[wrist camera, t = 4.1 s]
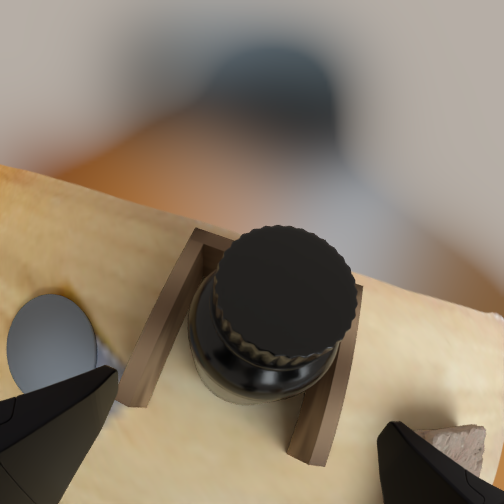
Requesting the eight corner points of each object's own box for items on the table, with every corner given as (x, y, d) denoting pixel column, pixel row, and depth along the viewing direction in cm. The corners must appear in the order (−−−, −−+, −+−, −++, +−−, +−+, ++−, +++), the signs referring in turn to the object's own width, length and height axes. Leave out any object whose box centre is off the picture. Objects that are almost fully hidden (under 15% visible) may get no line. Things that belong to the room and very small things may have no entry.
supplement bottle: (307, 377, 18) (416, 328, 8) (221, 420, 16) (242, 443, 6) (263, 299, 21) (316, 186, 11) (180, 333, 19) (149, 234, 9)
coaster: (33, 421, 12) (29, 421, 12) (1, 324, 15) (-3, 322, 15) (117, 377, 16) (115, 376, 15) (73, 279, 19) (70, 276, 19)
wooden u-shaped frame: (299, 456, 15) (325, 466, 11) (133, 401, 15) (112, 398, 12) (336, 310, 21) (363, 286, 18) (196, 261, 22) (195, 227, 18)
